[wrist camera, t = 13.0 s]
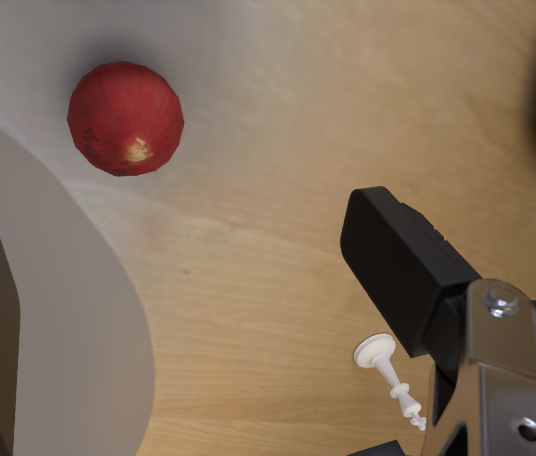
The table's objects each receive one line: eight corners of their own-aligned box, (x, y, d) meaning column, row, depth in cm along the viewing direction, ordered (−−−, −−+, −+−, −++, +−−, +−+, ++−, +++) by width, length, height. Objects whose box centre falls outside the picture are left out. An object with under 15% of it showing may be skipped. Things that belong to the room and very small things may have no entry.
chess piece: (366, 332, 52) (418, 414, 45) (400, 333, 55) (455, 411, 47) (345, 363, 54) (391, 446, 47) (379, 363, 57) (428, 441, 49)
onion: (137, 153, 31) (156, 227, 25) (47, 109, 28) (45, 183, 22) (188, 78, 29) (221, 139, 24) (99, 21, 26) (112, 75, 20)
